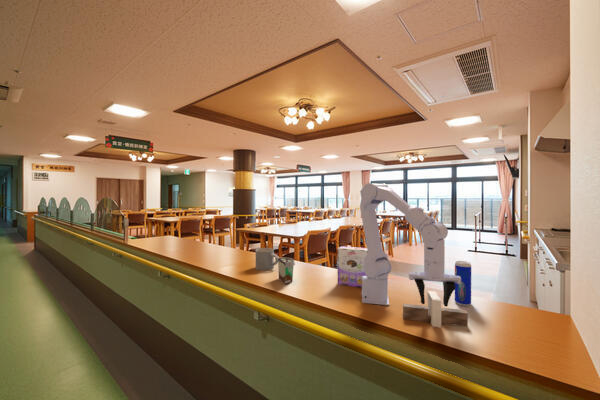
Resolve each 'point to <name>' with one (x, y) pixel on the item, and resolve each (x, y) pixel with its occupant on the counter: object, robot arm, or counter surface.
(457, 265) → the beverage can
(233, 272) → the counter surface
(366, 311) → the counter surface
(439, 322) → the cream rectangular block
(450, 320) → the walnut slotted plate
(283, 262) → the food container
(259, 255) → the coffee mug
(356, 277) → the candy box
